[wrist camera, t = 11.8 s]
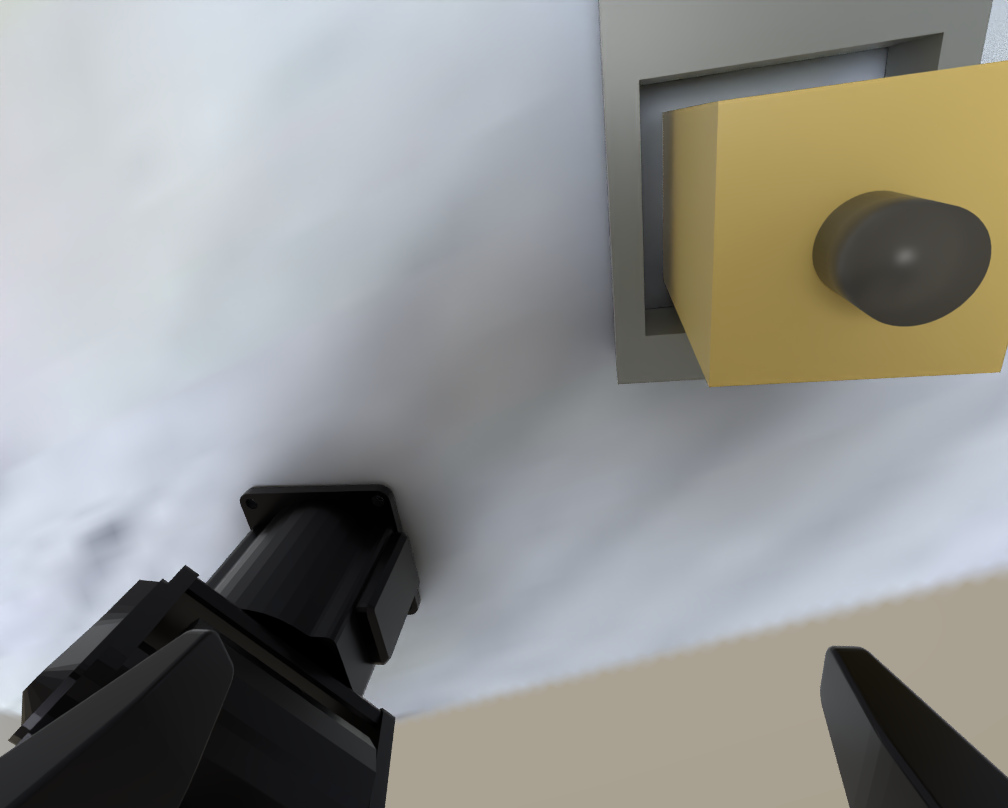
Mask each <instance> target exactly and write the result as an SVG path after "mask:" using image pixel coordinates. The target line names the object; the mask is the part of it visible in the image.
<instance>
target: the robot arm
mask: <svg viewBox="0 0 1008 808" xmlns="http://www.w3.org/2000/svg"><path fill="white" fill-rule="evenodd" d="M376 496H380V497H381V498H383V501H382V500H379V499H377V498H376ZM252 499H253V500H254V501H256V503H255V502H254V501H253V500H252ZM240 504H241V507H242V509H243V512H244V514H245V517H246V519H247V522H248V524H249V527H250V529H251V531H250V532H249V533H248V534H247V536H246V537H245V538H244V539H243V540H242V541H241V543H240V544H239V545H238V546H237V547H236V548H235V550H234V551H233V552H232V553H231V554H230V555H229V557H228V558H227V559H226V560H225V561H224V562H223V564H222V565H221V566H220V567H219V568H218V570H217V571H216V572H215V573H214V574H213V575H212V577H211V578H210V579H209V580H208V581H207V582H206V583H204V582H203V581H201V580H200V579H199V578H197V577H198V576H199V574H197V573H196V572H194V571H193V570H192V569H190V568H189V567H188V566H186V565H185V566H184V567H183V568H182V569H181V570H180V571H179V572H178V573H177V574H176V575H175V576H174V577H173V579H172V580H171V581H170V582H169V583H168V582H167V581H165V580H164V579H162V580H161V581H160V582H155V581H145V580H139V581H138V582H137V583H136V584H135V585H134V586H133V587H132V588H131V589H130V590H129V591H128V592H127V593H126V594H125V595H124V596H123V597H122V598H121V599H120V600H119V601H118V602H117V603H116V604H115V605H114V606H113V607H112V608H111V609H110V610H109V611H108V612H107V613H106V614H105V615H104V616H103V617H102V618H101V619H100V620H99V621H97V622H96V623H95V624H94V625H93V626H92V627H91V628H90V629H89V630H88V631H87V632H86V633H84V634H83V635H82V636H81V637H80V638H79V639H78V640H77V641H76V642H75V643H73V644H72V645H71V646H70V647H69V648H68V649H67V650H66V651H65V652H64V653H62V654H61V655H60V656H59V657H58V658H57V659H56V660H55V661H54V662H53V663H51V664H50V665H49V666H48V667H47V668H46V669H45V670H44V671H43V672H42V673H41V674H40V675H39V676H38V677H37V678H36V679H35V680H34V681H33V682H32V683H31V684H30V685H29V686H28V687H27V688H26V689H25V690H24V691H23V697H22V722H21V723H22V724H21V727H20V728H19V729H18V730H17V731H16V732H15V733H14V734H13V736H12V737H11V738H10V739H9V740H8V741H9V742H11V743H13V744H15V745H16V746H15V747H14V748H13V749H11V750H10V751H8V752H7V753H6V754H4V755H3V756H1V757H0V808H385V801H386V792H387V783H388V776H389V767H390V759H391V750H392V741H393V733H394V725H395V717H394V716H393V715H391V714H390V713H388V712H387V711H386V710H384V709H383V708H381V709H380V710H379V709H378V708H377V707H375V706H374V705H372V704H371V703H370V702H368V701H367V700H366V699H364V698H363V694H364V692H365V689H366V687H367V684H368V682H369V680H370V677H371V675H372V672H373V670H374V667H375V665H384V664H386V662H387V661H388V660H389V659H390V658H391V655H392V653H393V650H394V648H395V645H396V642H397V640H398V637H399V635H400V632H401V629H402V627H403V624H404V622H405V619H406V617H407V615H411V614H414V613H416V612H417V610H418V607H419V605H420V597H419V593H418V589H417V588H418V586H419V577H418V573H417V569H416V565H415V561H414V558H413V554H412V550H411V546H410V542H409V538H408V536H407V535H406V534H405V533H404V532H403V531H402V527H401V523H400V519H399V515H398V511H397V507H396V503H395V500H394V496H393V493H392V491H391V490H390V489H389V488H388V487H386V486H384V485H348V486H312V487H275V488H251V489H248V490H247V491H246V492H245V493H244V494H243V495H242V496H241V498H240ZM820 696H821V703H822V708H823V711H824V715H825V718H826V722H827V726H828V730H829V733H830V737H831V741H832V744H833V748H834V752H835V755H836V759H837V763H838V766H839V770H840V774H841V777H842V781H843V784H844V788H845V792H846V796H847V799H848V803H849V807H850V808H1008V777H1007V776H1006V775H1005V774H1003V773H1002V772H1001V771H1000V770H999V769H998V768H997V767H996V766H995V765H993V763H991V762H990V761H989V760H988V759H987V758H986V757H985V756H984V755H982V754H981V753H980V752H979V751H978V750H977V749H976V748H975V747H974V746H973V745H971V744H970V743H969V742H968V741H967V740H966V739H965V738H964V737H963V736H961V735H960V734H959V733H958V732H957V731H956V730H955V729H954V728H953V727H952V726H951V725H949V724H948V723H947V722H946V721H945V720H944V719H943V718H942V717H941V716H939V715H938V714H937V713H936V712H935V711H934V710H933V709H932V708H931V707H930V706H928V705H927V704H926V703H925V702H924V701H923V700H922V699H921V698H920V697H918V696H917V695H916V694H915V693H914V692H913V691H912V690H911V689H910V688H909V687H907V686H906V685H905V684H904V683H903V682H902V681H901V680H900V679H899V678H898V677H896V676H895V675H894V674H893V673H892V672H891V671H890V670H889V669H887V668H886V667H885V666H884V665H883V664H882V663H881V662H880V661H879V660H877V658H875V657H874V656H873V655H872V654H871V653H870V652H869V651H867V650H866V649H864V648H861V647H855V646H831V647H829V648H828V650H827V652H826V655H825V661H824V668H823V674H822V680H821V687H820Z"/></svg>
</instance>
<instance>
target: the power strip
mask: <svg viewBox="0 0 1008 808" xmlns="http://www.w3.org/2000/svg"><path fill="white" fill-rule="evenodd" d="M992 2H993V0H598V4H599V25H600V45H601V66H602V86H603V107H604V127H605V148H606V168H607V189H608V210H609V230H610V251H611V271H612V292H613V312H614V333H615V353H616V365H617V378H618V384H629V383H646V382H663V381H680V380H698V379H705V376H704V374H703V372H702V369H701V367H700V365H699V362H698V360H697V358H696V355H695V353H694V351H693V348H692V346H691V344H690V341H689V339H688V337H687V334H686V332H685V330H684V327H683V325H682V322H681V320H680V318H679V315H678V313H677V311H676V308H675V307H667V308H655V309H645V303H644V262H643V221H642V180H641V139H640V98H639V85H646V84H652V83H659V82H665V81H672V80H678V79H684V78H691V77H697V76H704V75H710V74H717V73H723V72H730V71H736V70H742V69H749V68H755V67H762V66H768V65H775V64H781V63H788V62H794V61H800V60H807V59H813V58H820V57H826V56H833V55H839V54H846V53H852V52H858V51H865V50H871V49H878V48H884V47H889V50H888V57H887V65H886V72H885V78H886V77H893V76H900V75H907V74H915V73H922V72H929V71H936V70H943V69H950V68H957V67H964V66H971V65H978V64H980V62H981V57H982V52H983V47H984V42H985V37H986V32H987V27H988V22H989V17H990V12H991V7H992Z"/></svg>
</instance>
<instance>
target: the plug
mask: <svg viewBox="0 0 1008 808" xmlns="http://www.w3.org/2000/svg"><path fill="white" fill-rule="evenodd" d="M663 280H664V283H665V285H666V287H667V290H668V292H669V294H670V297H671V299H672V301H673V304H674V306H675V308H676V311H677V313H678V315H679V318H680V320H681V322H682V325H683V327H684V330H685V332H686V334H687V337H688V339H689V341H690V344H691V346H692V348H693V351H694V353H695V355H696V358H697V360H698V362H699V365H700V367H701V369H702V372H703V374H704V376H705V379H706V381H707V383H708V386H709V387H720V386H740V385H759V384H779V383H799V382H818V381H838V380H857V379H877V378H897V377H916V376H936V375H956V374H975V373H995V372H1000V371H1001V368H1002V364H1003V360H1004V356H1005V353H1006V349H1007V345H1008V60H1007V61H1000V62H993V63H986V64H978V65H971V66H964V67H957V68H950V69H943V70H936V71H929V72H922V73H915V74H907V75H900V76H893V77H886V78H879V79H872V80H865V81H858V82H851V83H844V84H836V85H829V86H822V87H815V88H808V89H801V90H794V91H787V92H780V93H773V94H765V95H758V96H751V97H744V98H737V99H730V100H723V101H717V102H712V103H707V104H702V105H697V106H692V107H687V108H682V109H677V110H672V111H667V112H663Z"/></svg>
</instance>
